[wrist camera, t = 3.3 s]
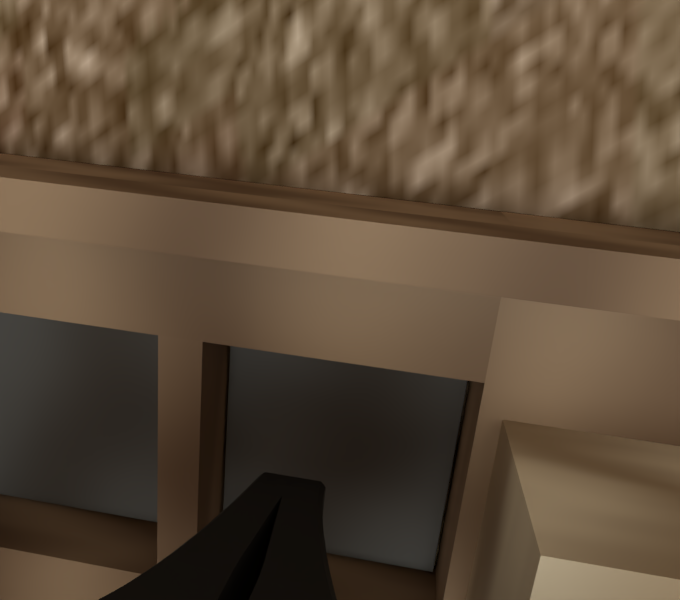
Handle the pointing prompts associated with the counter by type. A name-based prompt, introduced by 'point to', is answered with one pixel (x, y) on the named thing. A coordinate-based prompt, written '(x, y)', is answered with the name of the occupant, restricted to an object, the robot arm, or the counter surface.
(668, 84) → the counter surface
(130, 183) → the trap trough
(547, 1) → the counter surface
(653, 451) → the birch block
